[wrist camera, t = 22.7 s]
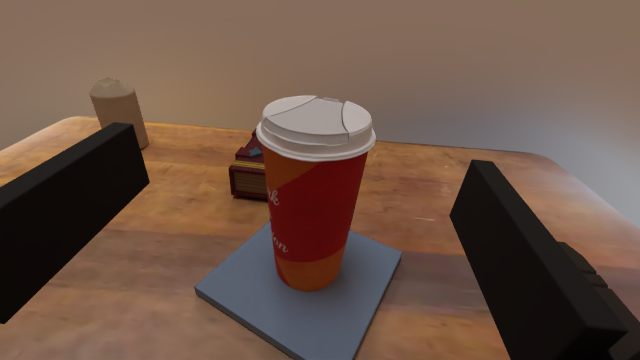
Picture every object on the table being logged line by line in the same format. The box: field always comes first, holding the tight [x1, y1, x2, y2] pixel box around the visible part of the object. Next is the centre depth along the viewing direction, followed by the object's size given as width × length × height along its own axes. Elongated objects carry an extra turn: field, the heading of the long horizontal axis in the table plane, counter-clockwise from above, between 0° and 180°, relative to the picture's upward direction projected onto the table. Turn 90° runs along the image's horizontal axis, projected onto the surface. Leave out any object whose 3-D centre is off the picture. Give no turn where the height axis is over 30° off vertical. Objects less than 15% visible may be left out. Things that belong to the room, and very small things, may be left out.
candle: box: [89, 78, 148, 149], centre depth 45 cm, size 6×6×10 cm
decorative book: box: [229, 128, 268, 199], centre depth 43 cm, size 11×16×5 cm
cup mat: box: [194, 221, 402, 360], centre depth 28 cm, size 14×14×1 cm
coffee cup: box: [256, 96, 376, 291], centre depth 24 cm, size 8×8×15 cm
